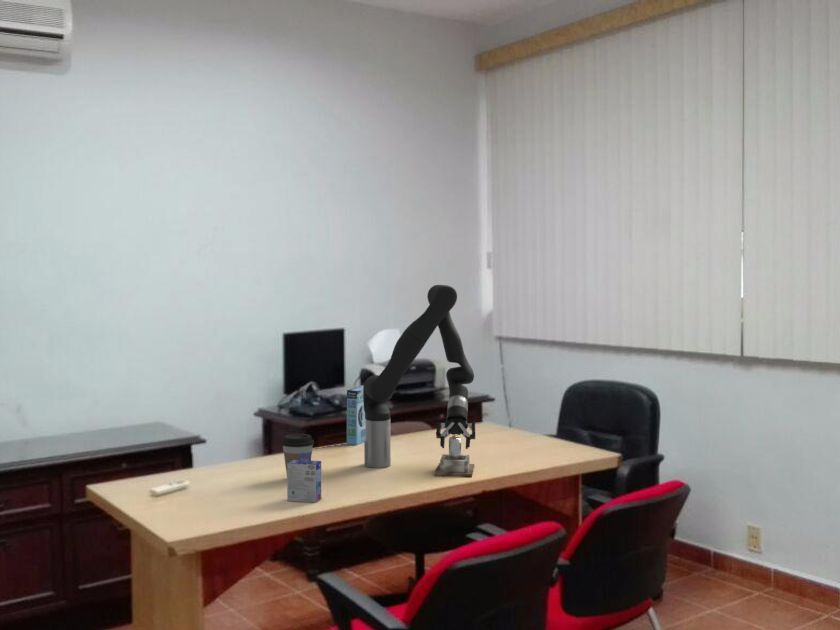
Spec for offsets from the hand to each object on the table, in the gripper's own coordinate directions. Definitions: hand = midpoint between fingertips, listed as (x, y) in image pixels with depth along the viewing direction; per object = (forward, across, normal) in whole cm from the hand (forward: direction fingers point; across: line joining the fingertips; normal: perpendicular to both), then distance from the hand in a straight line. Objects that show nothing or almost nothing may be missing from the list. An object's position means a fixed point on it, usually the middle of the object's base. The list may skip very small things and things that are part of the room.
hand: (454, 447), depth 308 cm
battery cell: (+5, 0, +6) cm, 8 cm away
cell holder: (+6, 0, +6) cm, 9 cm away
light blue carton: (-30, -44, +42) cm, 68 cm away
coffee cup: (+19, -53, -6) cm, 57 cm away
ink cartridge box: (+38, -44, -25) cm, 63 cm away
